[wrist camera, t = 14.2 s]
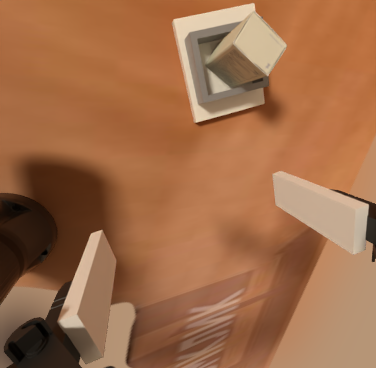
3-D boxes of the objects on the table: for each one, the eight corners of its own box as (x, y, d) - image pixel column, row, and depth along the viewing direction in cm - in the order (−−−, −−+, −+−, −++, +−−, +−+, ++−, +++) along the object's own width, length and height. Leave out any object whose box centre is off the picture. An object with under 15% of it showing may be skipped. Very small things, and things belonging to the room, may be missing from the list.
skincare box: (244, 66, 37) (290, 45, 26) (229, 89, 38) (268, 77, 27) (217, 41, 35) (254, 7, 24) (202, 65, 36) (232, 43, 25)
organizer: (194, 122, 40) (201, 123, 35) (172, 23, 34) (177, 9, 30) (260, 104, 42) (275, 102, 37) (249, 7, 36) (266, -9, 32)
